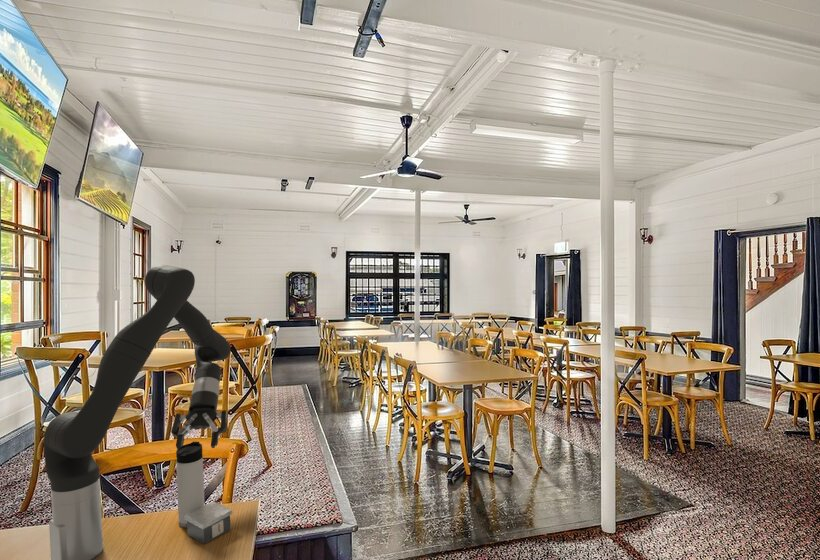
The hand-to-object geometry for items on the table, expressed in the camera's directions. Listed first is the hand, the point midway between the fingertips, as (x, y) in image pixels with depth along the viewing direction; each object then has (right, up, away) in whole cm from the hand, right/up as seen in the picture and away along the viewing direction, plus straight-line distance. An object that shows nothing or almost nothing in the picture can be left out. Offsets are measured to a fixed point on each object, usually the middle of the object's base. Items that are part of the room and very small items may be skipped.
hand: (196, 448), depth 127 cm
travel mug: (+2, -17, -6) cm, 18 cm away
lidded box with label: (+9, -17, -11) cm, 22 cm away
